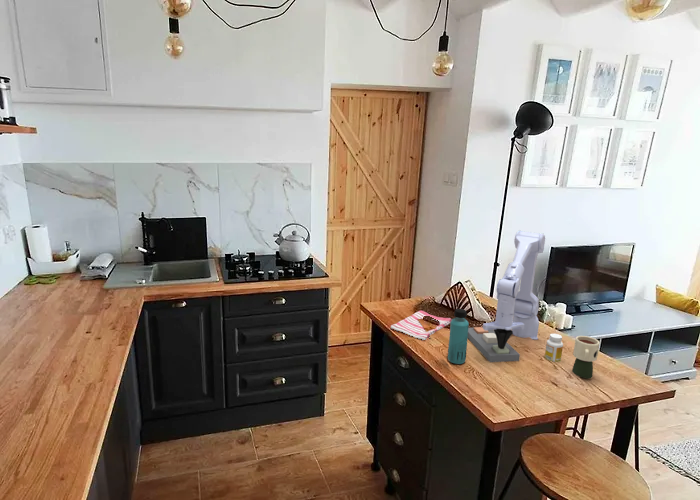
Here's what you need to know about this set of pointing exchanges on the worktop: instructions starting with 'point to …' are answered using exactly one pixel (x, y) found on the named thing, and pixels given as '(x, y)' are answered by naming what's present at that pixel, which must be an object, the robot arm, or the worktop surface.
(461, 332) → the beverage bottle
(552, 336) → the supplement bottle
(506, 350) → the sage button
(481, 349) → the button console
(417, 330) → the dish towel
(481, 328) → the terracotta button
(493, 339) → the cream button
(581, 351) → the character mug
